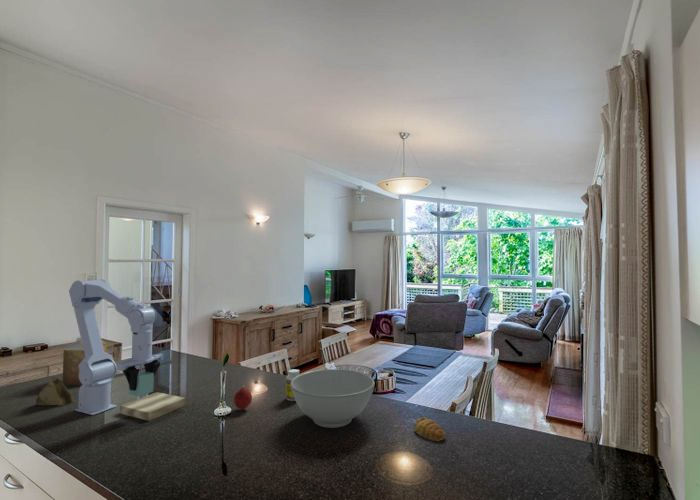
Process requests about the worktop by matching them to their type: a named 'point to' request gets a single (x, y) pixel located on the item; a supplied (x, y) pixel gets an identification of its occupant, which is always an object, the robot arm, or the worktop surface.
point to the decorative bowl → (332, 395)
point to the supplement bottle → (289, 378)
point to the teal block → (143, 384)
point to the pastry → (429, 429)
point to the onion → (242, 398)
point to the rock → (54, 394)
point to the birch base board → (152, 406)
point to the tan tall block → (74, 361)
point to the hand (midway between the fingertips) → (141, 387)
